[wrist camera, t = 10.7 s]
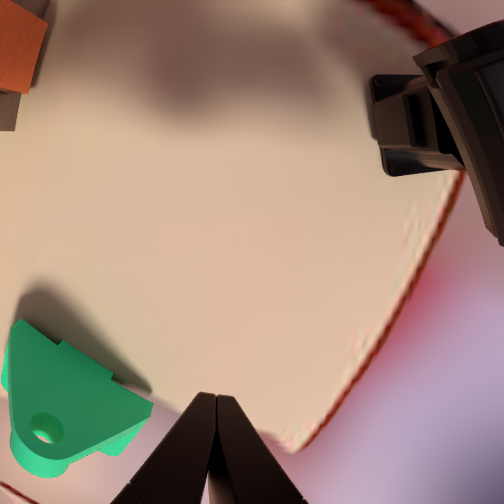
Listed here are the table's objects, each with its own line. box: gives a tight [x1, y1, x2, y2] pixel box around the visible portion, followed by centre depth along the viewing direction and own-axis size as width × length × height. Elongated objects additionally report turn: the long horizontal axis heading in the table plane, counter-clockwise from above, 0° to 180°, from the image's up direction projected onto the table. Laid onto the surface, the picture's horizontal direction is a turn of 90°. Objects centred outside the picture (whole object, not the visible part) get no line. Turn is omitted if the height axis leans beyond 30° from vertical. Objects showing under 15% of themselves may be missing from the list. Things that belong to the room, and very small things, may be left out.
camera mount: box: [1, 318, 153, 478], centre depth 17 cm, size 12×8×10 cm, turn 55°
